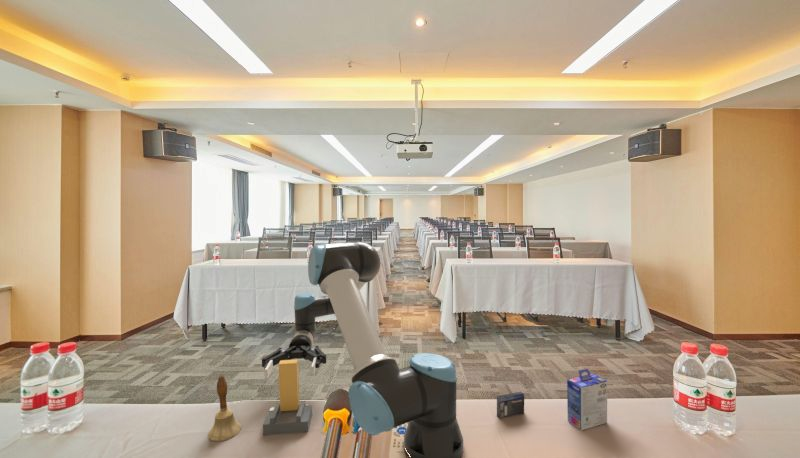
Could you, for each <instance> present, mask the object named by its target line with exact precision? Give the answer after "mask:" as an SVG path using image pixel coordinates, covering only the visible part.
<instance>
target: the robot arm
mask: <svg viewBox="0 0 800 458" xmlns="http://www.w3.org/2000/svg"><path fill="white" fill-rule="evenodd" d="M308 254H309V255H308V260H307V262H308V263H307V273H308V274H307V275H308V280H309V283H310V284H311V285H312V286H313V285H314V286H317V285H319V289H320V291H321V292H322V293H323V294H325V295H324V296H318V297H315V295H314V293H310V292H303V293H298V294H297V295H296V296H295V297H294V305H293V309H294V311H293V312H294V335H293V337H292V339H291V341H290V343H289V345H288V347H287V348H286V349H283V348H282V347H278V348H277V349H276V350H274V351H273V352H271V353H269V354H268V355H266V356H265V357H263V358H262V359H261V367H262V368H264V379H268V378H269V377H270V374H271V373H272V370H273V369H274V366H277V365H279V362H280V360H296V359H298V360H299V359H300V360H301V359H303V360H305V361H307V360H308V361H309V362H312V363H311V367H310V368H311V372H310V373H311V376H315V374H316V373H315V372H316V370H317V369H319V368H320V366H321V364H324V365H325V364H327V354H326V353H325V352H323V350H321V349H320V347H319V345H316V346H315V347H313V348H312V346H313V344H314V340H315V338H316V336H317V326H316V318H319V317H324V316H330V315H334V316H335V318H336V320H337V324H338V327H339V329H340V330H339V331H340V332H341V336H342V339H343V341H344V343H345V346H346V349H347V352H348V355H349V358H350V361H351V364H352V366H353V369H354V372H353V375H352V376H351V384H350V386H349V388H348V394H347V395H348V401H349V407H350V410H351V413H352V415H353V417H354V419H355V422H356V423H357V424H358V426H359V427H360V428H361V429H362V430H363V431H364V432H365V433H367V434H369V435H372V436H373V435H378V434H382V433H386V432H387V433H388V432H390V431H392V430H393V429H395V428H397V427H400V426H402V425H405V424H406V423H407V426H406V429H405V432H404V435H403V447H404V446H405V448H406V450H407V452H408V453H409V454H410V456H411V458H461V457H462V455H463V453H464V438H463V437H464V436H463V434H462V431H461V429H460V425H459V422H458V419H457V381H458V377H457V368H456V365H455V364H454V362H453V361H452V360H451V359H449V358H448V357H446V356H443V355H439V354H437V353H429V352H423V353H422V352H421V353H415V354H413V355H412V356H410V358H409V362H408V364H409V366H406V367H403V368H400V367H399V366H398V363H397V361H396V359H395V358H393V357H390V356H388V354H387V353H386V351H385V348H384V345H383V343H382V341H381V339H380V336H379V334H378V331H377V329H376V326H375V324H374V322H373V320H372V317H371V314H370V312H369V310H368V308H367V305H366V303H365V301H364V297H363V295H362V293H361V291H360V290H362V288H364V285H365V284H367V283H370V282H371V281H373V280H374V278H376V276H378V273H379V271H380V269H381V258H380V255H379V253H378V251H377V250H376V248H375V247H374V246H372V245H371V244H369V243H367V242H363V241H351V242H335V243H334V242H333V243H323V244H316V245H314V246H313V247H311V249H310V251H309V253H308Z"/></svg>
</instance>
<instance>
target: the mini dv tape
mask: <svg viewBox="0 0 800 458" xmlns="http://www.w3.org/2000/svg"><path fill="white" fill-rule="evenodd" d="M523 414H525V394H524V392H522V391H518V392H512V393H506V394H501V395H497V396H496V417H497V418H499V419H504V418H509V417H514V416H519V415H523Z"/></svg>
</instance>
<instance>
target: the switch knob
mask: <svg viewBox="0 0 800 458" xmlns="http://www.w3.org/2000/svg"><path fill="white" fill-rule="evenodd" d="M299 374H300V373H299V359H297V358H295V359H291V360H280V362H279V364H278V382H279V383H278V384H279V385H278V386H279V403H280V411H293V410H298V409H299V406H300V403H301V400H300V376H299Z"/></svg>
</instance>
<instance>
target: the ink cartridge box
mask: <svg viewBox="0 0 800 458" xmlns="http://www.w3.org/2000/svg"><path fill="white" fill-rule="evenodd" d="M577 371H578V377H573V378H569V379H566V385H567V386H566V387H567V389H566V391H567V393H566V394H567V421H568V423H570V424H572V425H573V426H574V427H576V428H577V429H578V430H580V431H583V430H587V429H591V428H594V427H597V426H600V425H604V424H607V423H608V380H607V379H604V378H603V377H600V376H599V375H597V374H595V373H591V372H590V371H589V368H585V369H579V370H577ZM583 373H587V374H585V375H583Z"/></svg>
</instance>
